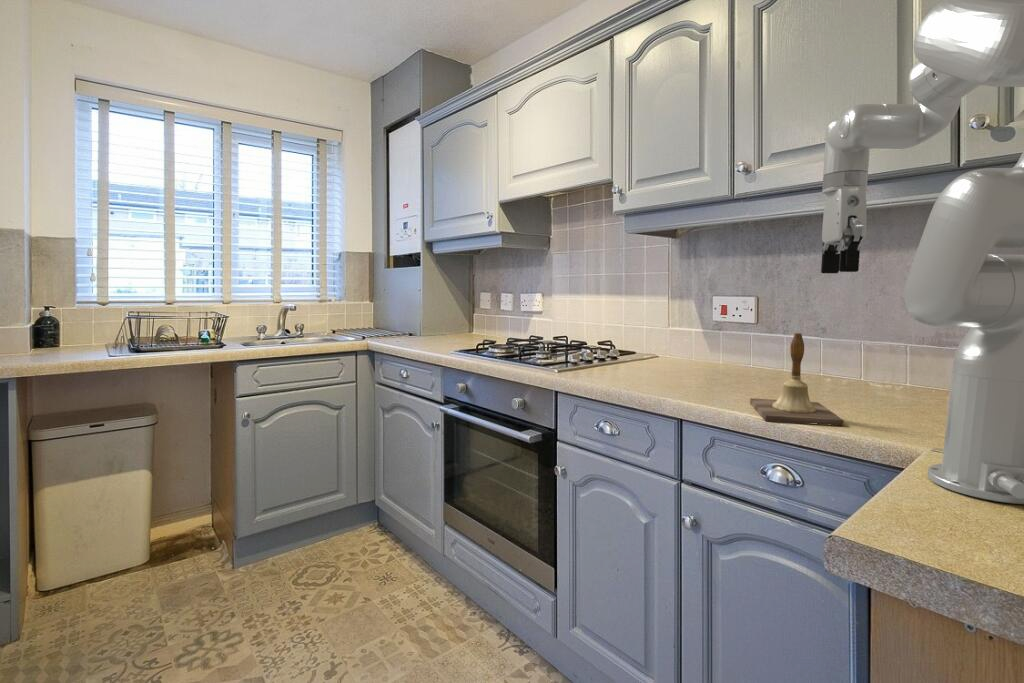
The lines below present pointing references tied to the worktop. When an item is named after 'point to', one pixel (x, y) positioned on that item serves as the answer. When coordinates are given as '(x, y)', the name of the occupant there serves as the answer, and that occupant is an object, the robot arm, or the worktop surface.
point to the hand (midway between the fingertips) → (838, 272)
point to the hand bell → (795, 384)
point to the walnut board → (777, 415)
